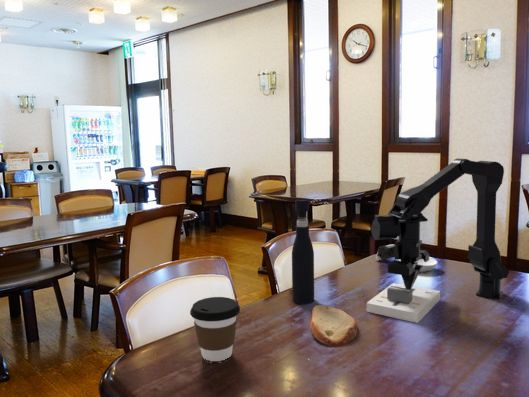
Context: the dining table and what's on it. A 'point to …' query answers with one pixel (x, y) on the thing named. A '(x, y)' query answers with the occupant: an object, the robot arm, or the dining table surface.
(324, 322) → the slice of bread
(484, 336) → the dining table surface
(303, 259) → the black bottle
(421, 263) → the spoon rest
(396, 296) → the fader
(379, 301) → the console
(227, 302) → the coffee cup
